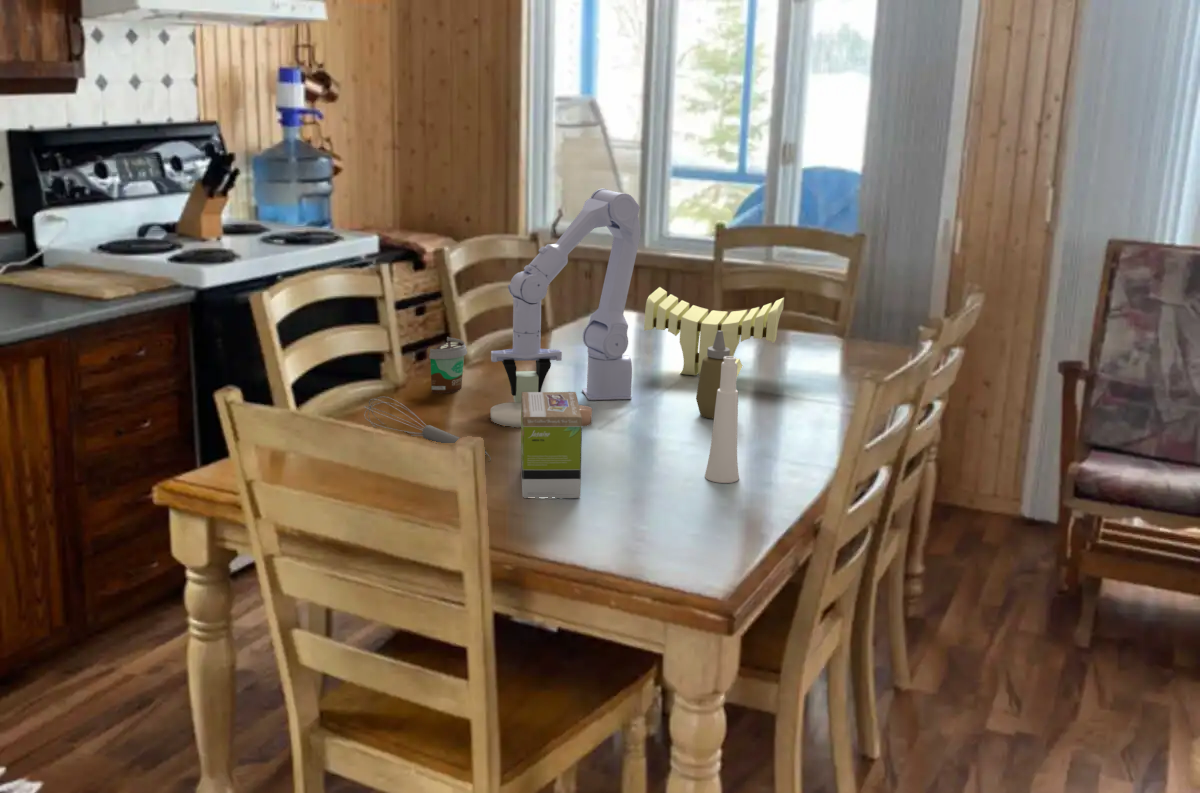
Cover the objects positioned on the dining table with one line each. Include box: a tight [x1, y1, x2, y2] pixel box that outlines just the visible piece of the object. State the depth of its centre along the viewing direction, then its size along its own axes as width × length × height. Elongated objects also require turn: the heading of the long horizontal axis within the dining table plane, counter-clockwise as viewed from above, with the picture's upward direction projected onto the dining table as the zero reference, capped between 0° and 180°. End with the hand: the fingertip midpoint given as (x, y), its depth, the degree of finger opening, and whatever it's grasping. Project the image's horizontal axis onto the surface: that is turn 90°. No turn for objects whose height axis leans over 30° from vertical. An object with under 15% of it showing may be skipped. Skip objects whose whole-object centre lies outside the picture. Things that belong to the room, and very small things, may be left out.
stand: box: [490, 401, 521, 428], centre depth 243 cm, size 11×11×2 cm
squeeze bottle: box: [695, 331, 730, 420], centre depth 249 cm, size 8×8×18 cm
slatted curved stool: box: [643, 286, 785, 377], centre depth 284 cm, size 30×16×18 cm, turn 76°
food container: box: [428, 336, 468, 394], centre depth 262 cm, size 12×6×10 cm, turn 168°
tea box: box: [520, 391, 583, 499], centre depth 206 cm, size 15×10×15 cm, turn 5°
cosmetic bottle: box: [704, 356, 740, 484], centre depth 211 cm, size 6×6×22 cm
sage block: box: [513, 370, 539, 402], centre depth 253 cm, size 4×4×6 cm
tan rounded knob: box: [579, 404, 593, 427], centre depth 243 cm, size 5×5×3 cm
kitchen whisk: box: [363, 395, 492, 462], centre depth 227 cm, size 6×34×6 cm, turn 50°
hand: (525, 394), depth 253 cm, fingers closed on sage block, 4 cm apart
